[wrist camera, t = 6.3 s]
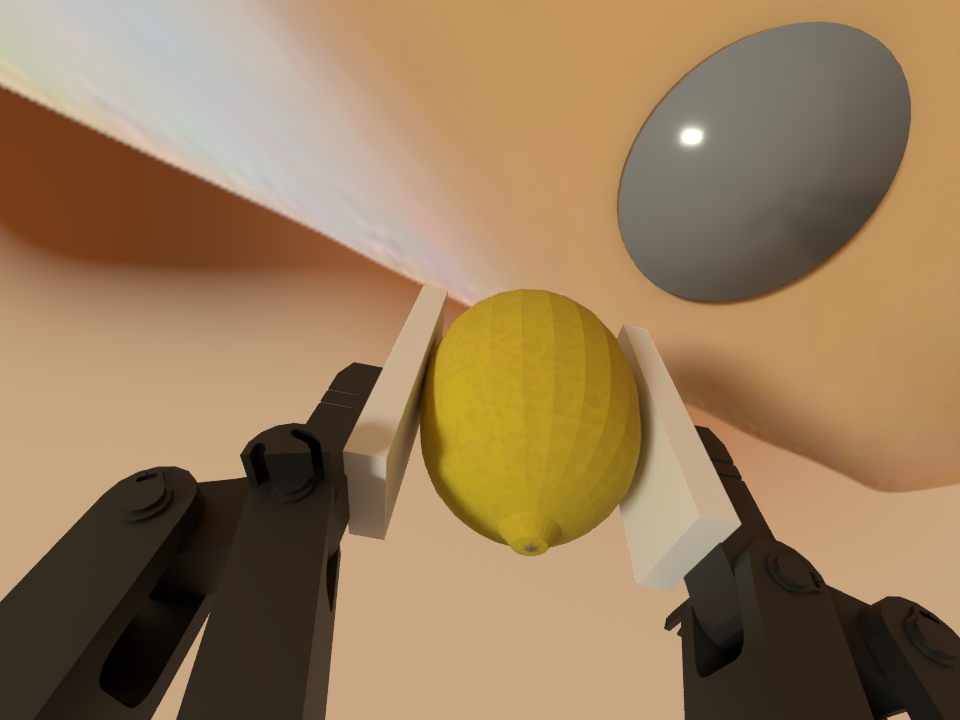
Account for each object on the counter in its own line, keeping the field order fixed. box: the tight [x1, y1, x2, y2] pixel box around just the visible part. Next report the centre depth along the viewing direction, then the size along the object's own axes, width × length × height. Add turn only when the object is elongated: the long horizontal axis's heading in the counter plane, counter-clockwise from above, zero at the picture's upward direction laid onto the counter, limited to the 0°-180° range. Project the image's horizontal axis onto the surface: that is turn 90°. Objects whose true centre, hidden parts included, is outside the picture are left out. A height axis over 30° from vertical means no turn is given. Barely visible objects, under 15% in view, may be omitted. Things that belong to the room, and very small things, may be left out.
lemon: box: [420, 289, 641, 556], centre depth 10 cm, size 6×6×8 cm
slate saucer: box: [617, 22, 911, 301], centre depth 22 cm, size 14×14×1 cm
